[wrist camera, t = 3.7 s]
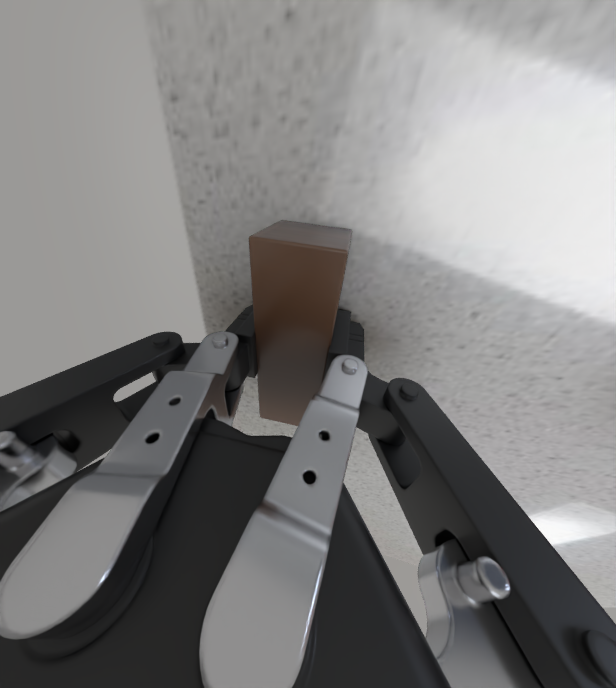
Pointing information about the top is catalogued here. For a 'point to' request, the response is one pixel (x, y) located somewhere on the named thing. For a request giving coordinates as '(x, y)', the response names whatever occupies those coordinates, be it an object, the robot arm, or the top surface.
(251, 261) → the bar
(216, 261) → the top surface
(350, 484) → the top surface
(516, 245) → the top surface
